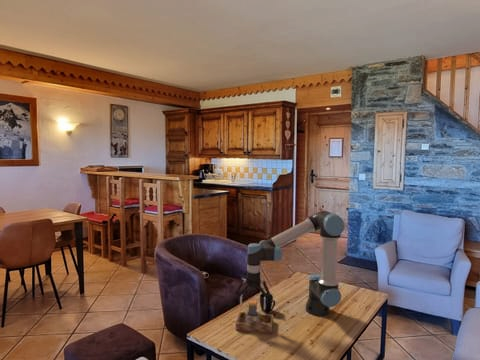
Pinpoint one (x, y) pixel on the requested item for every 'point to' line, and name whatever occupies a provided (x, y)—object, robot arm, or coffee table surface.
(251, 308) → the connector
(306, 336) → the coffee table surface
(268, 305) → the mug
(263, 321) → the box
